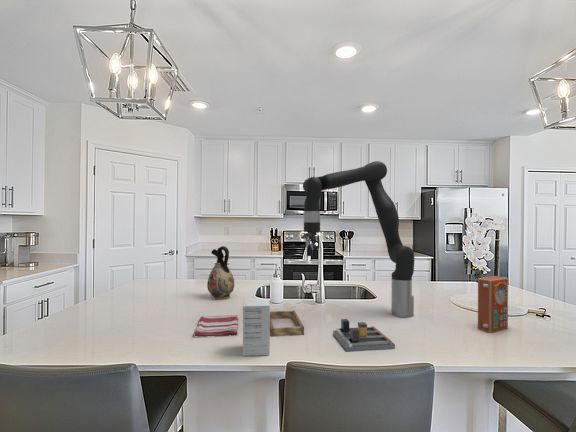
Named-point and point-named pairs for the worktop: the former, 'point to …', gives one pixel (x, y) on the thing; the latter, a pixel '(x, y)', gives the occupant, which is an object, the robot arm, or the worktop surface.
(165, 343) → the worktop surface
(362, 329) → the breaker
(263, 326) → the supplement box
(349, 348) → the breaker panel
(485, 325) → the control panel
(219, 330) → the dish towel
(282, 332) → the wooden frame
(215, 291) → the ceramic jug
